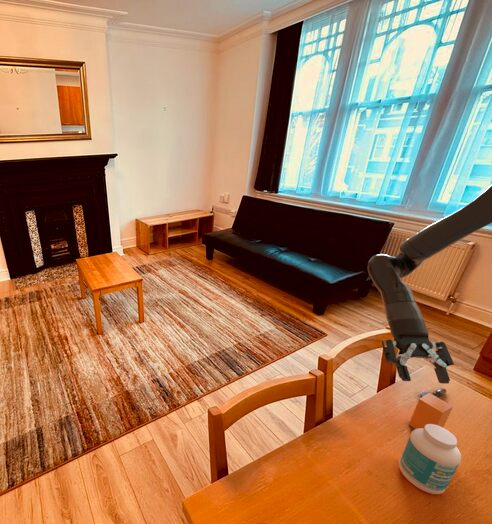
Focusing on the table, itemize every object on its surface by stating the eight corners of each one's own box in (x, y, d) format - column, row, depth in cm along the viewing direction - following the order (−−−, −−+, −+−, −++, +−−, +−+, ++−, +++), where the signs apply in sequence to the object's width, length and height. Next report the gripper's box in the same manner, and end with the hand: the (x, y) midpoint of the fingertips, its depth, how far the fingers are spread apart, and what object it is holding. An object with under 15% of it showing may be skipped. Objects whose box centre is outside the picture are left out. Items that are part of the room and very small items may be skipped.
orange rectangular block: (418, 418, 73) (429, 392, 70) (441, 432, 69) (453, 406, 66) (408, 424, 72) (419, 398, 69) (430, 439, 68) (442, 412, 65)
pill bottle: (428, 501, 56) (451, 457, 51) (389, 465, 63) (406, 423, 58) (453, 489, 58) (477, 445, 53) (413, 455, 65) (431, 413, 60)
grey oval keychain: (434, 386, 83) (436, 383, 82) (452, 396, 79) (454, 392, 79) (416, 396, 80) (418, 393, 79) (434, 407, 76) (436, 403, 76)
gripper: (385, 316, 75) (404, 380, 68) (445, 318, 73) (471, 384, 66) (368, 322, 82) (385, 380, 75) (423, 323, 79) (444, 384, 73)
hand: (425, 382), depth 71 cm, fingers open, 8 cm apart
